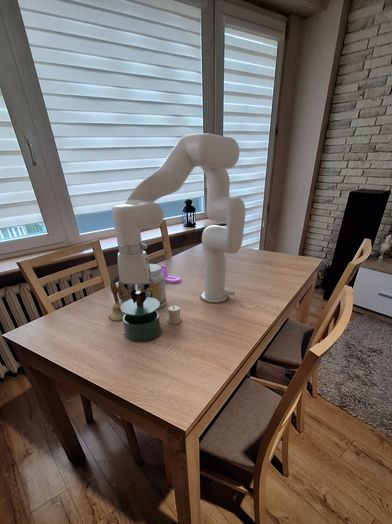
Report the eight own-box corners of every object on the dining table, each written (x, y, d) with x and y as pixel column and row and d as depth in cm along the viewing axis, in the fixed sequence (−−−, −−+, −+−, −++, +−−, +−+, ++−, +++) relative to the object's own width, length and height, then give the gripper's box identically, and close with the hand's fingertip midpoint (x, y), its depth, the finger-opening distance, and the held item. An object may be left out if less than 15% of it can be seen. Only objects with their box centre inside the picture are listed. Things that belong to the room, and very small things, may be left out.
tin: (124, 303, 127) (121, 286, 122) (118, 303, 128) (114, 285, 123) (136, 290, 139) (134, 274, 134) (131, 290, 140) (128, 274, 135)
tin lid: (158, 297, 107) (156, 282, 103) (162, 314, 95) (160, 298, 92) (121, 301, 105) (118, 286, 101) (120, 319, 93) (116, 303, 90)
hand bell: (120, 322, 112) (112, 285, 103) (105, 317, 116) (97, 281, 107) (134, 314, 118) (128, 278, 109) (120, 310, 122) (113, 275, 112)
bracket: (156, 280, 151) (155, 267, 147) (162, 276, 155) (160, 264, 151) (176, 283, 146) (175, 270, 142) (181, 280, 150) (181, 267, 146)
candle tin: (159, 322, 112) (157, 306, 108) (162, 339, 101) (160, 322, 97) (126, 326, 110) (123, 310, 106) (125, 344, 99) (122, 327, 95)
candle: (180, 318, 114) (180, 303, 110) (179, 324, 110) (178, 309, 106) (169, 318, 114) (168, 303, 110) (168, 324, 110) (166, 309, 107)
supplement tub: (134, 307, 123) (128, 270, 113) (147, 297, 132) (143, 262, 123) (159, 311, 120) (155, 273, 110) (170, 300, 129) (167, 264, 119)
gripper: (157, 244, 90) (163, 296, 101) (109, 245, 91) (120, 296, 102) (153, 251, 84) (159, 305, 95) (102, 252, 85) (114, 305, 96)
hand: (139, 300), depth 98 cm, fingers closed on tin lid, 2 cm apart
